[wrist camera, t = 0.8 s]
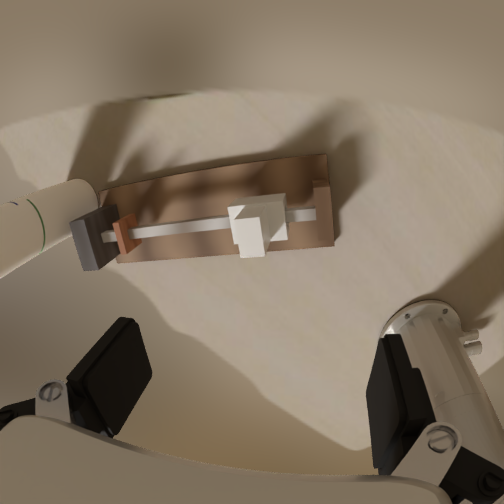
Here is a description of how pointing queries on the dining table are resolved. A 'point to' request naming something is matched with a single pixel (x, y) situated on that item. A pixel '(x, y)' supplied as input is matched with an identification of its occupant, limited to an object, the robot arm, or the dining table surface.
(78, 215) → the cylindrical container
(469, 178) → the dining table surface
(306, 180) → the rail
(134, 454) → the robot arm
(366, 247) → the dining table surface
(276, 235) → the sleeve
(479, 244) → the dining table surface
